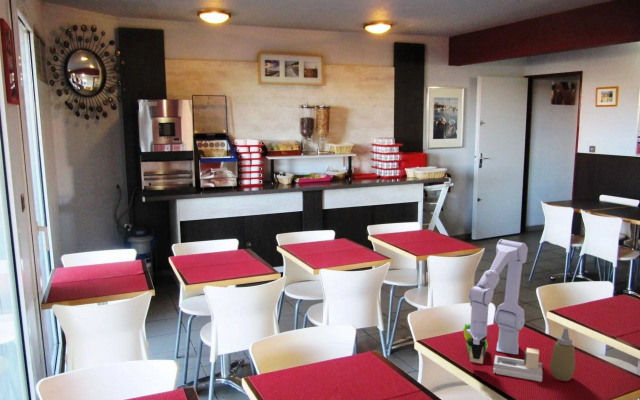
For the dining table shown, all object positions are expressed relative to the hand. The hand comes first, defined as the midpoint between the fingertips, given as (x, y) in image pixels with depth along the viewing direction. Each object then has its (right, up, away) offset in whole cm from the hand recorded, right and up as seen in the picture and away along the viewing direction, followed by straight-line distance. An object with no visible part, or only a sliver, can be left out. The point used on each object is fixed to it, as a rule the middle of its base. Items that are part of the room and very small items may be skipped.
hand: (476, 355), depth 190 cm
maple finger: (0, -2, 0) cm, 2 cm away
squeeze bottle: (+28, -6, -5) cm, 29 cm away
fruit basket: (+3, -3, +14) cm, 15 cm away
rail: (+14, -5, -1) cm, 15 cm away
